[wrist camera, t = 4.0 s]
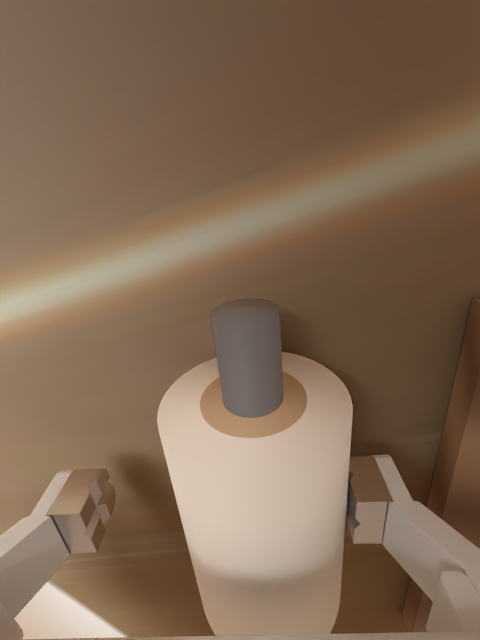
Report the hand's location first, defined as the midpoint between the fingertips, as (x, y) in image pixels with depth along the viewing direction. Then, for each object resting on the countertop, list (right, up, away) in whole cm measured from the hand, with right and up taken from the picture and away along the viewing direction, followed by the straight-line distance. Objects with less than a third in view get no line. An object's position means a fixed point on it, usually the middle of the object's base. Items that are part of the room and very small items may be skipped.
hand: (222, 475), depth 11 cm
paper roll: (+1, -1, -1) cm, 1 cm away
